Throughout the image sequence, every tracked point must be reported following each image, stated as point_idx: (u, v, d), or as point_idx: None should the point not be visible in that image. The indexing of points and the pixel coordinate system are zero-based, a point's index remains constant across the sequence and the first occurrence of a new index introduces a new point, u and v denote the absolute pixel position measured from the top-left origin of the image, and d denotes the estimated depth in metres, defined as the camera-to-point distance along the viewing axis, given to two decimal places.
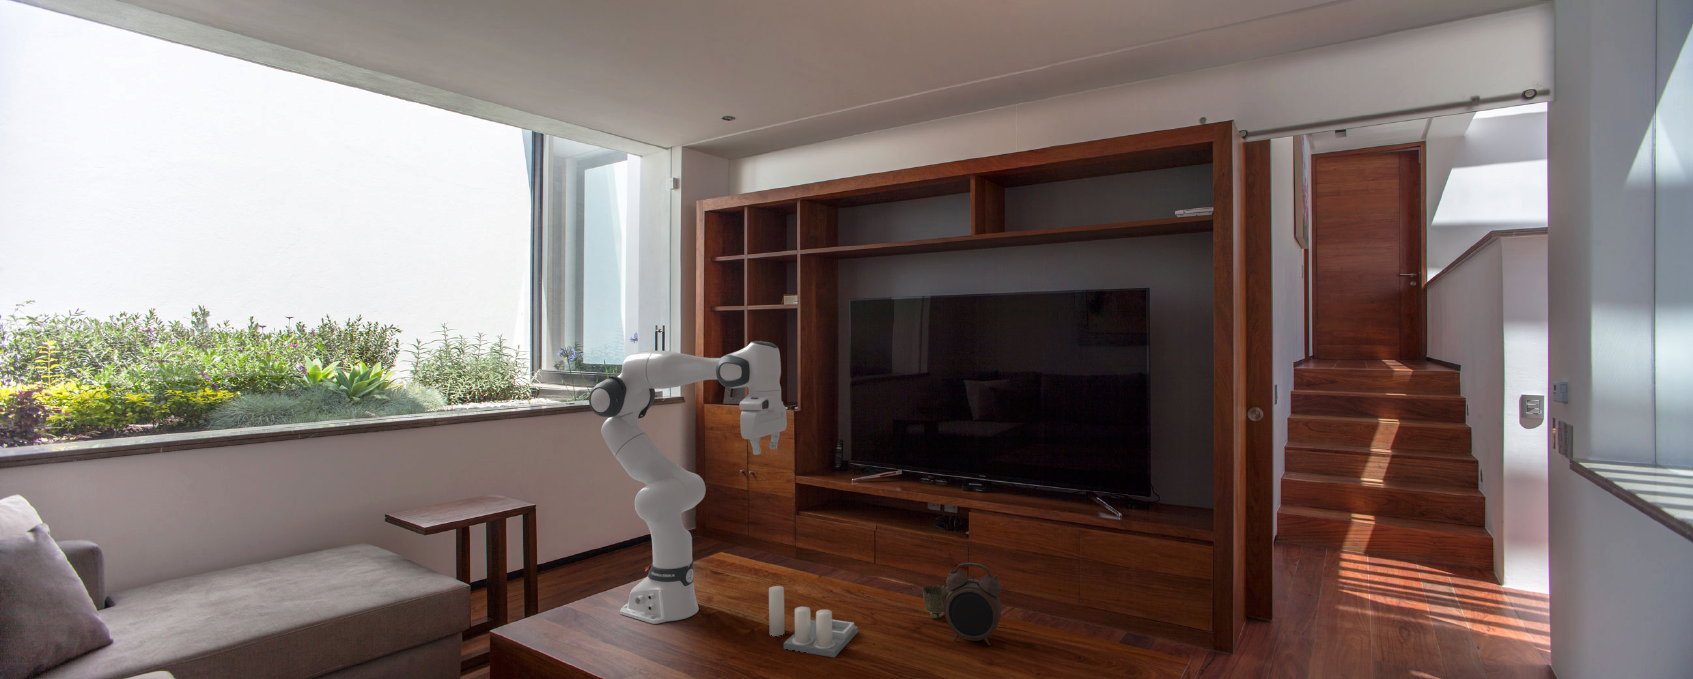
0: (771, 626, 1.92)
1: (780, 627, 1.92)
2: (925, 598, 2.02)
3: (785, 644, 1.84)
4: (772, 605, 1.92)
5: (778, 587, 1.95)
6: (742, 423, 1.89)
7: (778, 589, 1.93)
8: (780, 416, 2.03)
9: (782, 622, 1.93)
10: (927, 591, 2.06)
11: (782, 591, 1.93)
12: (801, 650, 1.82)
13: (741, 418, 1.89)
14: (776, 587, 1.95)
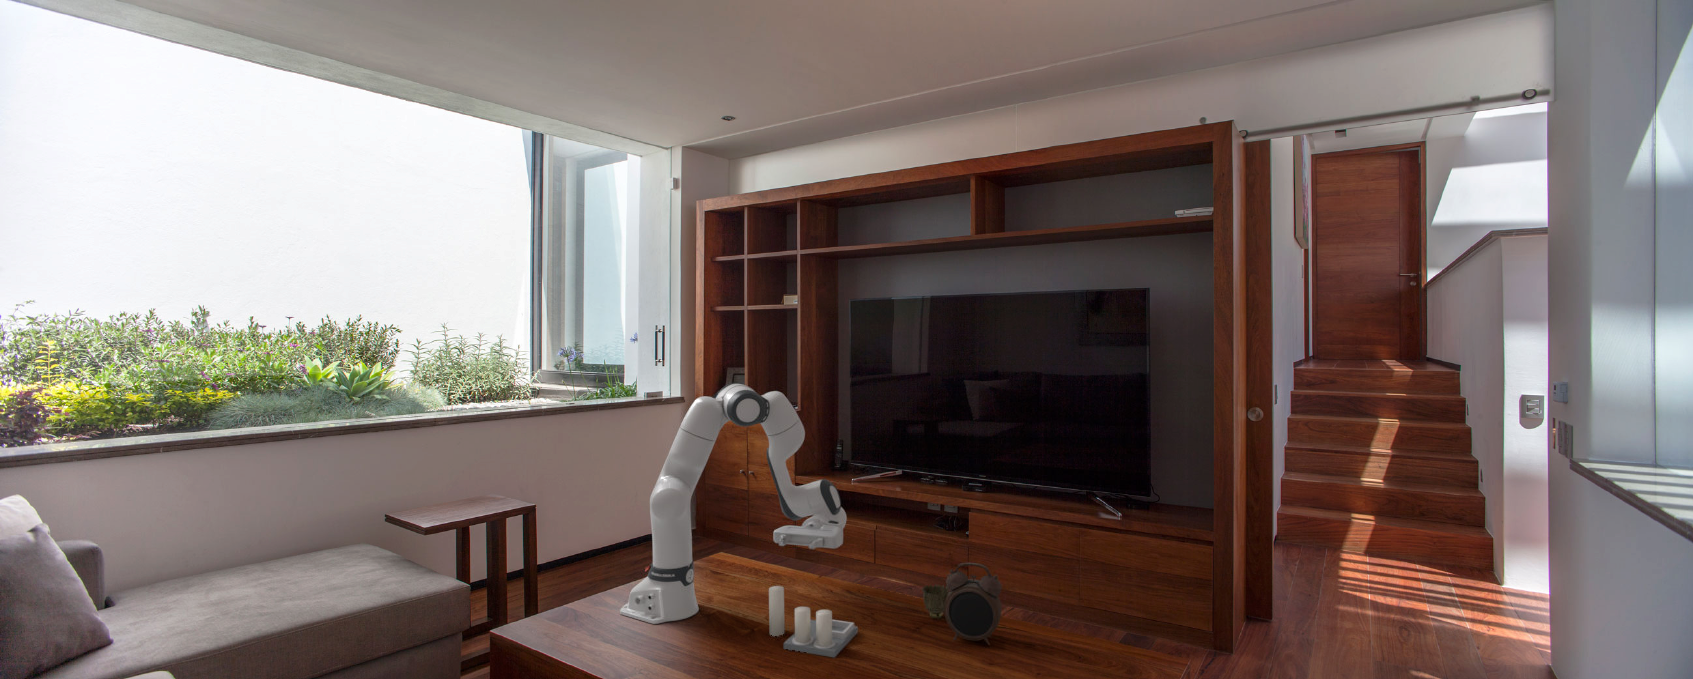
0: (771, 626, 1.92)
1: (780, 627, 1.92)
2: (925, 598, 2.02)
3: (785, 644, 1.84)
4: (772, 605, 1.92)
5: (778, 587, 1.95)
6: (839, 534, 2.09)
7: (778, 589, 1.93)
8: None
9: (782, 622, 1.93)
10: (927, 591, 2.06)
11: (782, 591, 1.93)
12: (801, 650, 1.82)
13: (840, 531, 2.10)
14: (776, 587, 1.95)
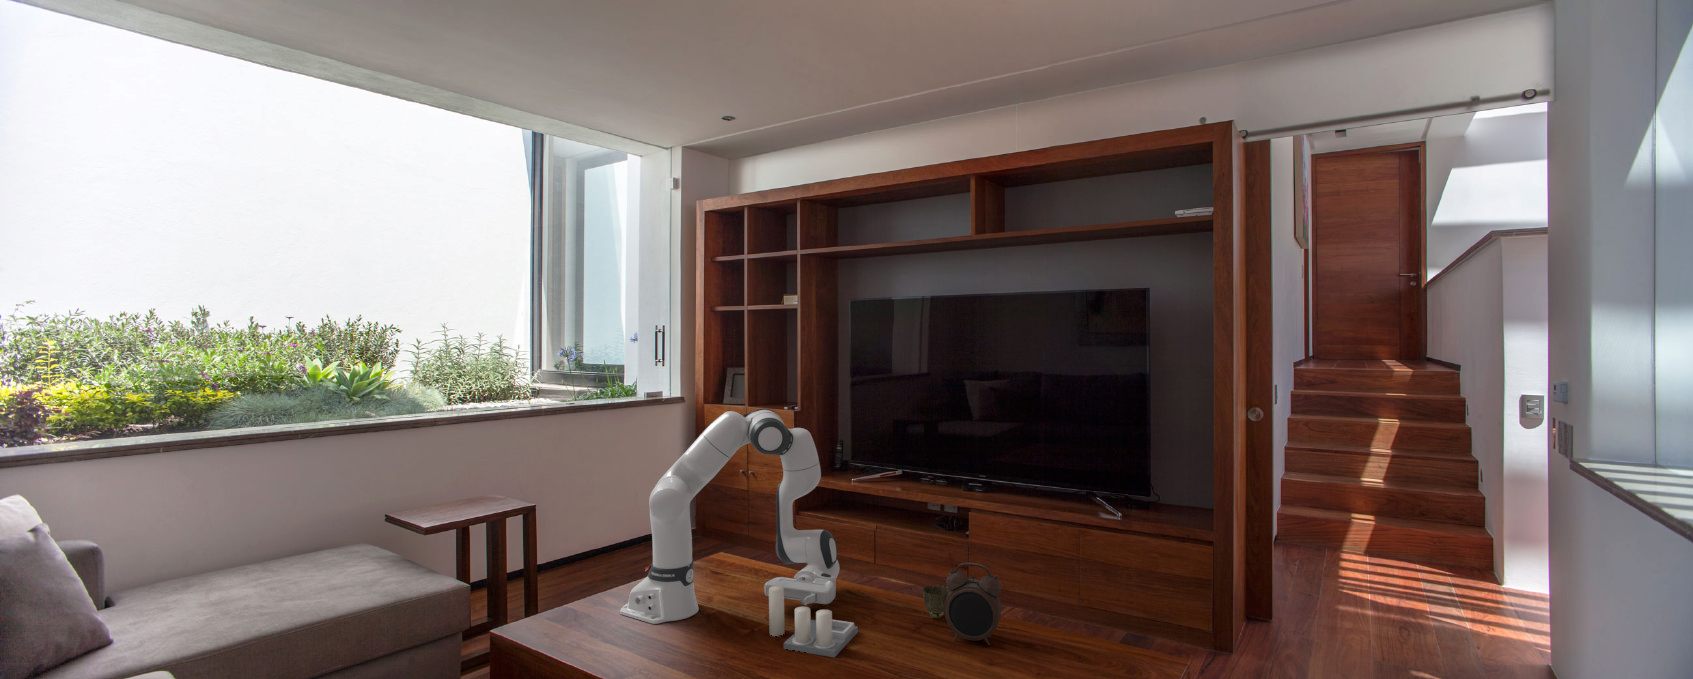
0: (771, 626, 1.92)
1: (780, 627, 1.92)
2: (925, 598, 2.02)
3: (785, 644, 1.84)
4: (772, 605, 1.92)
5: (778, 587, 1.95)
6: (832, 589, 2.05)
7: (778, 589, 1.93)
8: None
9: (782, 622, 1.93)
10: (927, 591, 2.06)
11: (782, 591, 1.93)
12: (801, 650, 1.82)
13: (833, 585, 2.06)
14: (776, 587, 1.95)
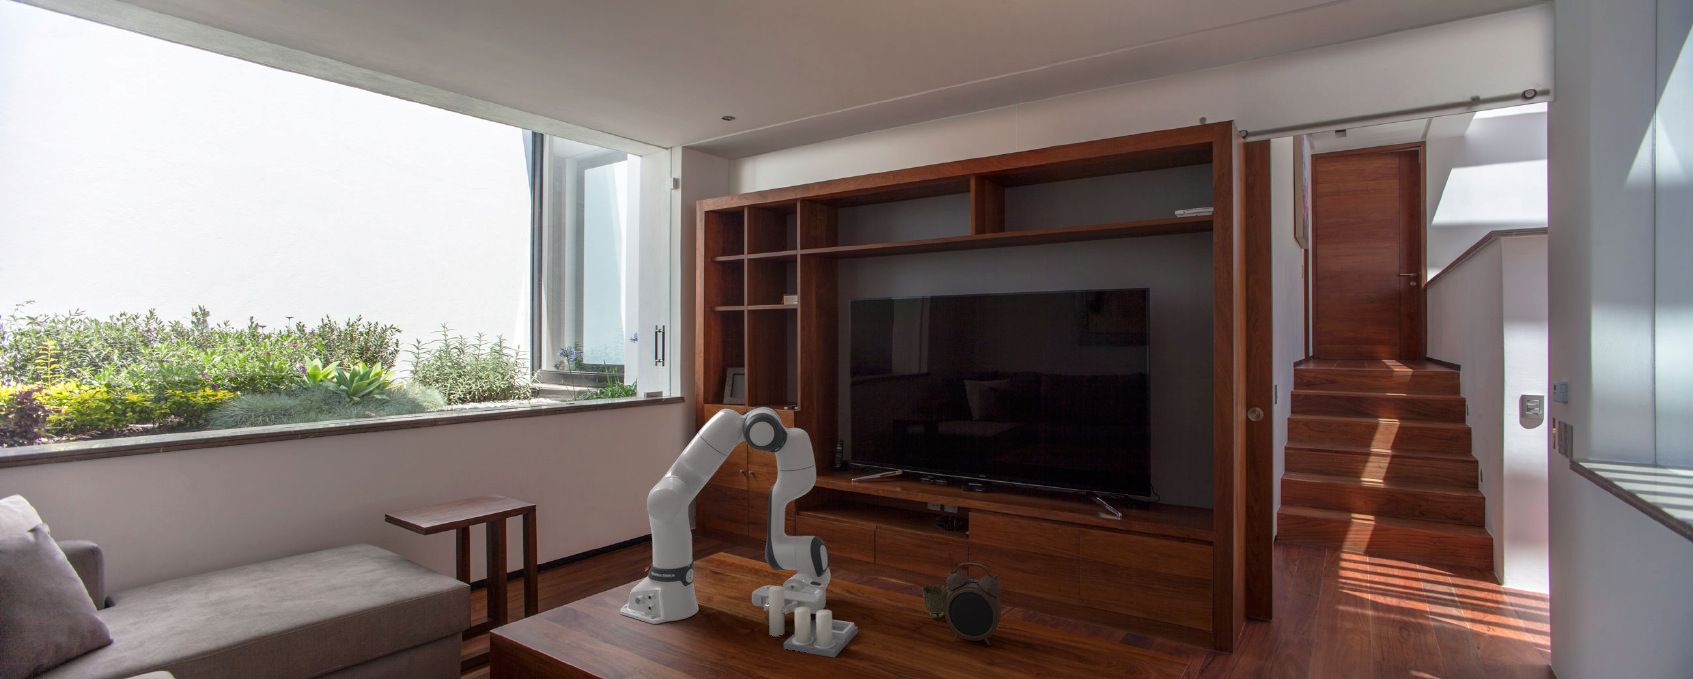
0: (771, 626, 1.92)
1: (780, 627, 1.92)
2: (925, 598, 2.02)
3: (785, 644, 1.84)
4: (772, 605, 1.92)
5: (778, 587, 1.95)
6: (821, 598, 1.97)
7: (778, 589, 1.93)
8: None
9: (782, 622, 1.93)
10: (927, 591, 2.06)
11: (782, 591, 1.93)
12: (801, 650, 1.82)
13: (822, 594, 1.99)
14: (776, 587, 1.95)
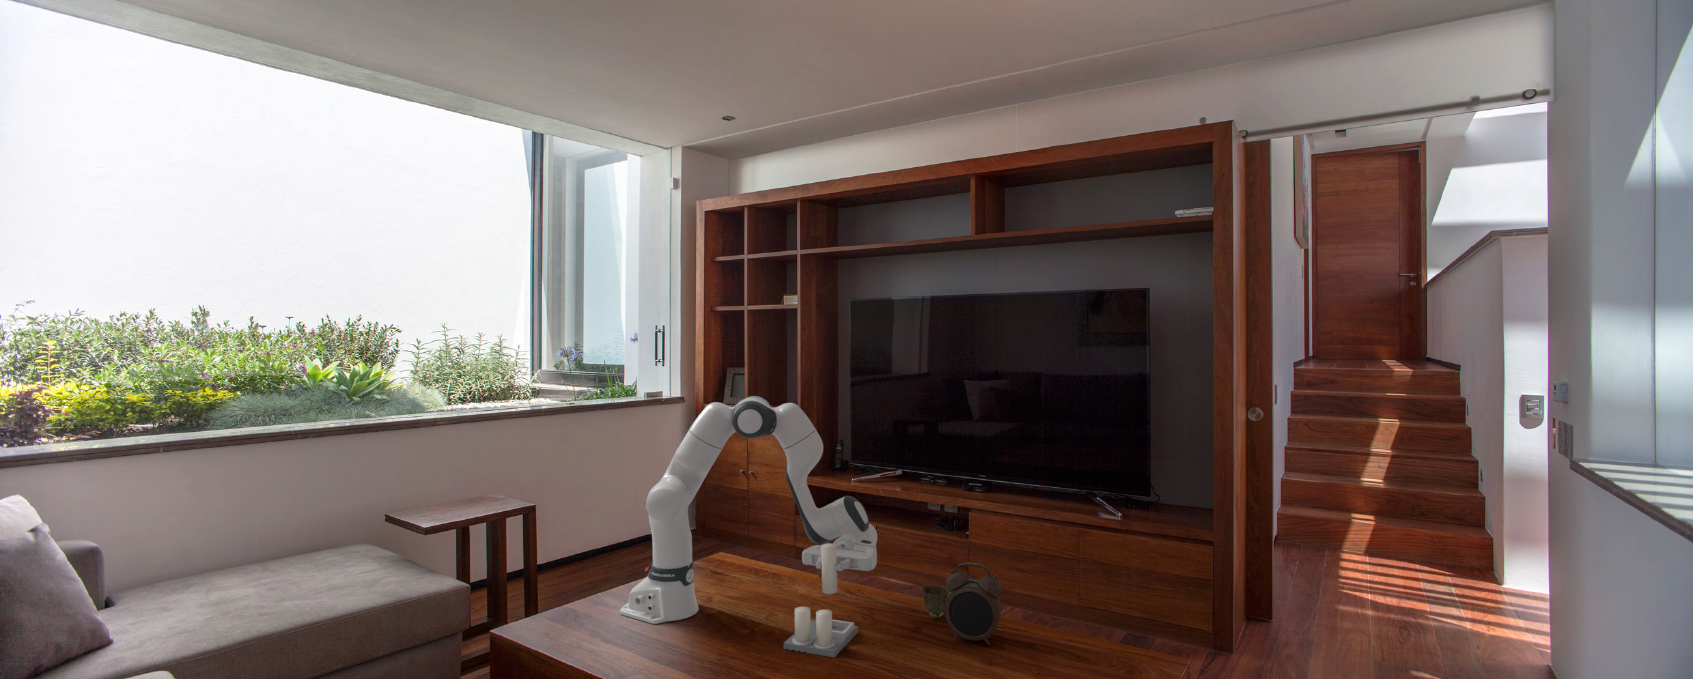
0: (824, 583, 1.90)
1: (833, 584, 1.89)
2: (925, 598, 2.02)
3: (785, 644, 1.84)
4: (824, 563, 1.89)
5: (830, 544, 1.92)
6: (874, 555, 1.95)
7: (831, 546, 1.90)
8: None
9: (835, 579, 1.90)
10: (927, 591, 2.06)
11: (835, 548, 1.90)
12: (801, 650, 1.82)
13: (874, 551, 1.96)
14: (828, 544, 1.92)
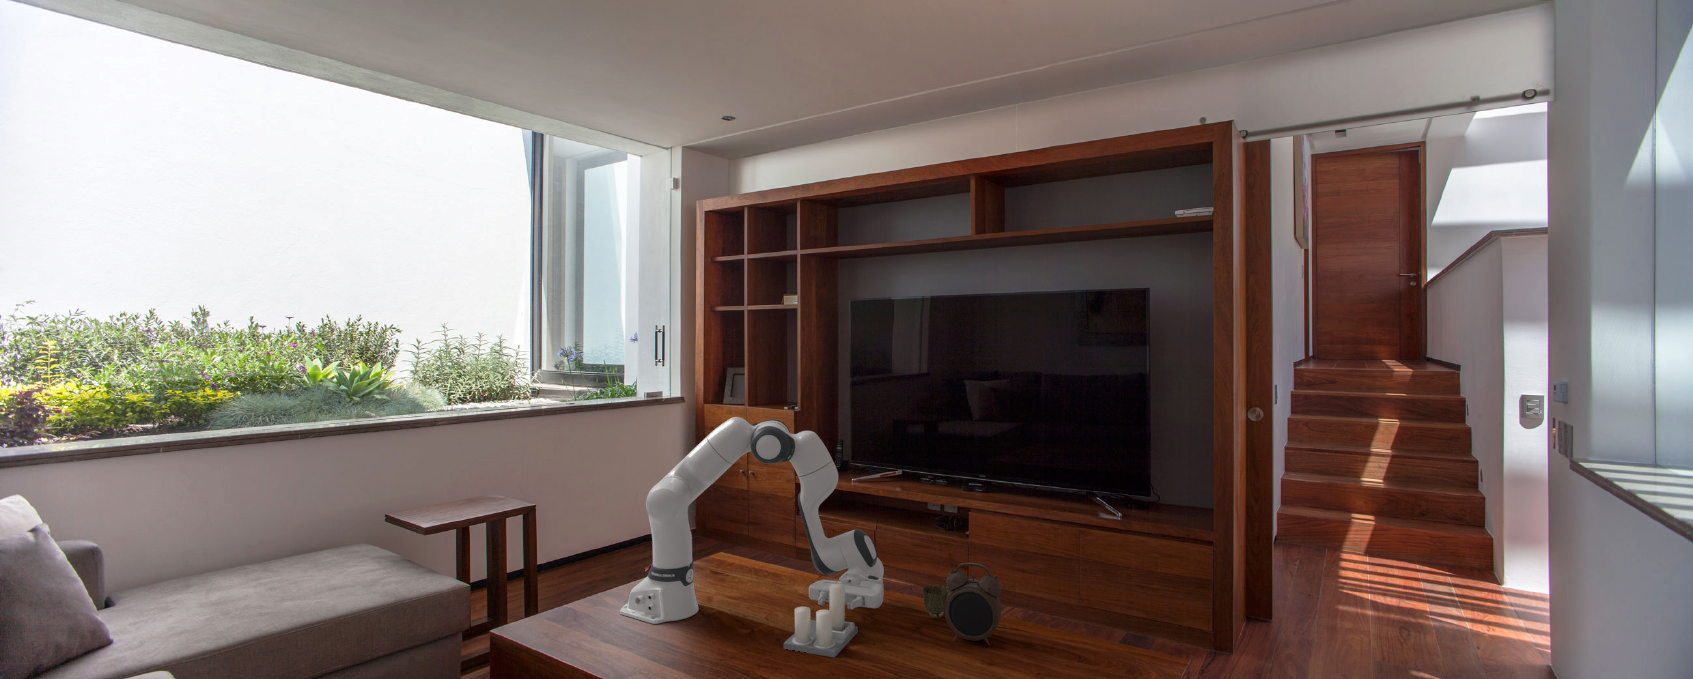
0: None
1: (840, 625, 1.89)
2: (925, 598, 2.02)
3: (785, 644, 1.84)
4: (833, 603, 1.89)
5: (839, 585, 1.91)
6: (881, 592, 1.94)
7: (839, 587, 1.90)
8: None
9: (843, 620, 1.90)
10: (927, 591, 2.06)
11: (843, 589, 1.89)
12: (801, 650, 1.82)
13: (881, 588, 1.96)
14: (836, 585, 1.91)
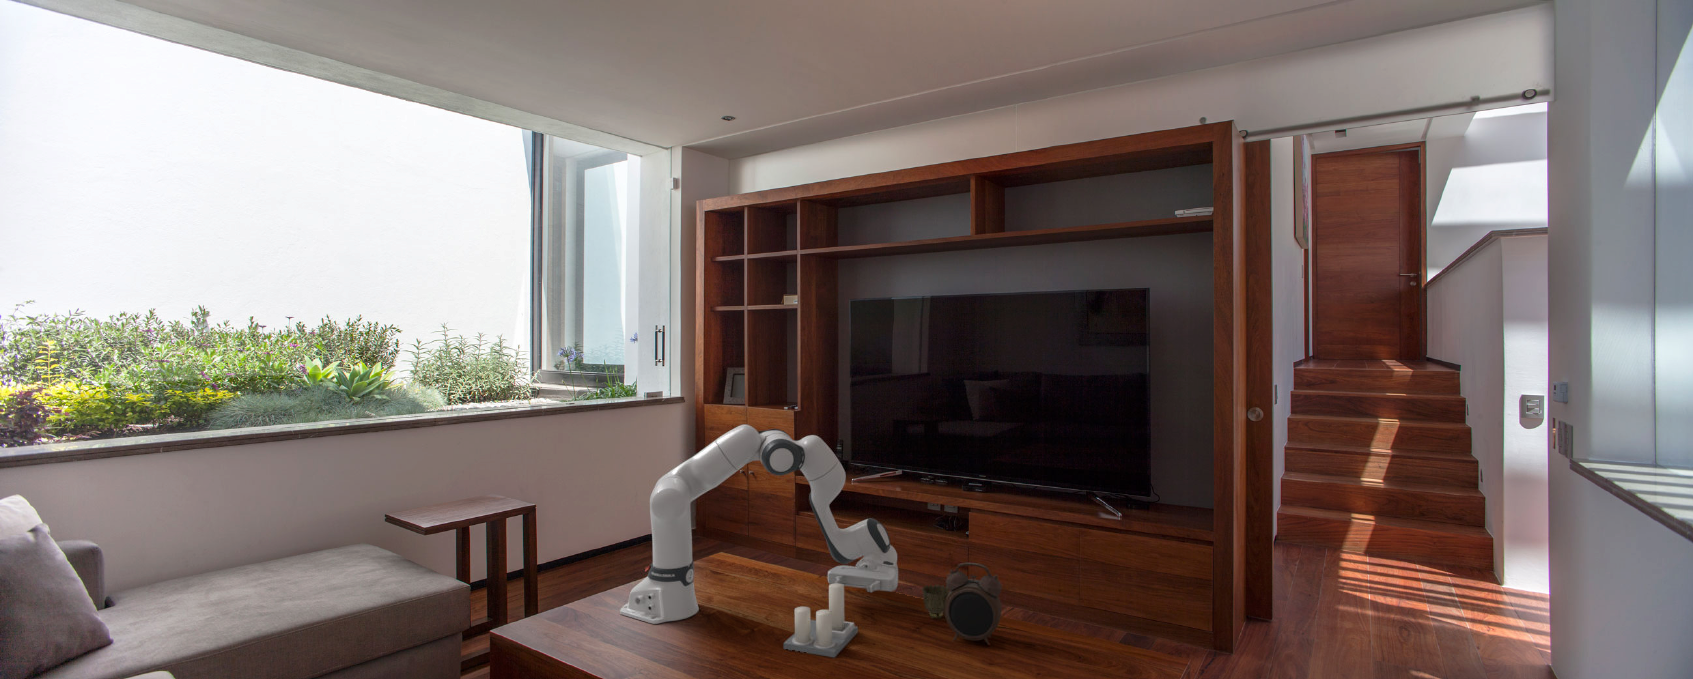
0: None
1: (840, 625, 1.89)
2: (925, 598, 2.02)
3: (785, 644, 1.84)
4: (832, 603, 1.89)
5: (838, 584, 1.92)
6: (896, 576, 2.06)
7: (838, 586, 1.90)
8: None
9: (843, 620, 1.90)
10: (927, 591, 2.06)
11: (842, 588, 1.90)
12: (801, 650, 1.82)
13: (896, 573, 2.08)
14: (836, 584, 1.92)
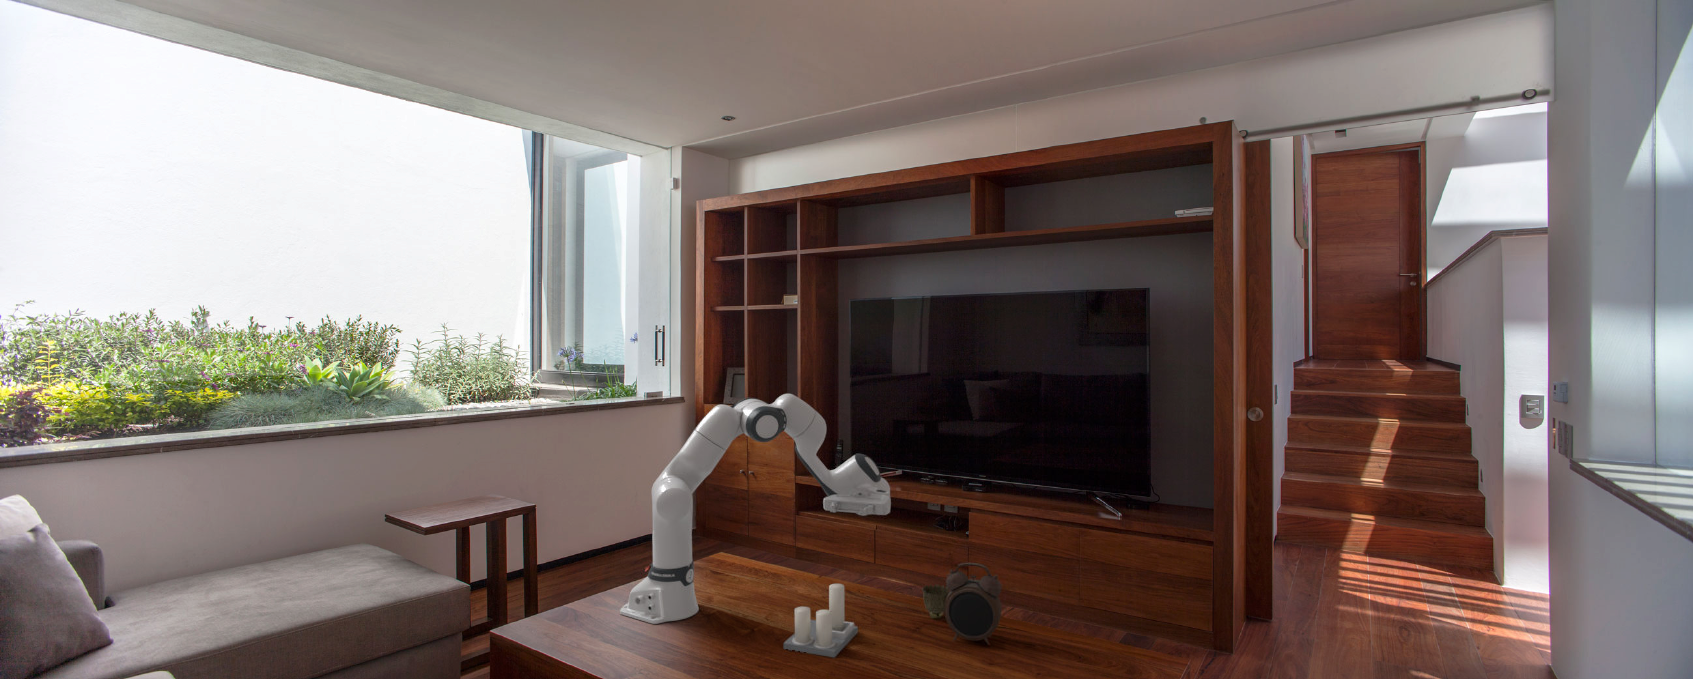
0: None
1: (841, 625, 1.89)
2: (925, 598, 2.02)
3: (785, 644, 1.84)
4: (832, 604, 1.89)
5: (838, 585, 1.91)
6: (888, 501, 2.16)
7: (839, 587, 1.90)
8: None
9: (843, 620, 1.90)
10: (927, 591, 2.06)
11: (843, 589, 1.89)
12: (801, 650, 1.82)
13: (889, 499, 2.18)
14: (836, 585, 1.91)
